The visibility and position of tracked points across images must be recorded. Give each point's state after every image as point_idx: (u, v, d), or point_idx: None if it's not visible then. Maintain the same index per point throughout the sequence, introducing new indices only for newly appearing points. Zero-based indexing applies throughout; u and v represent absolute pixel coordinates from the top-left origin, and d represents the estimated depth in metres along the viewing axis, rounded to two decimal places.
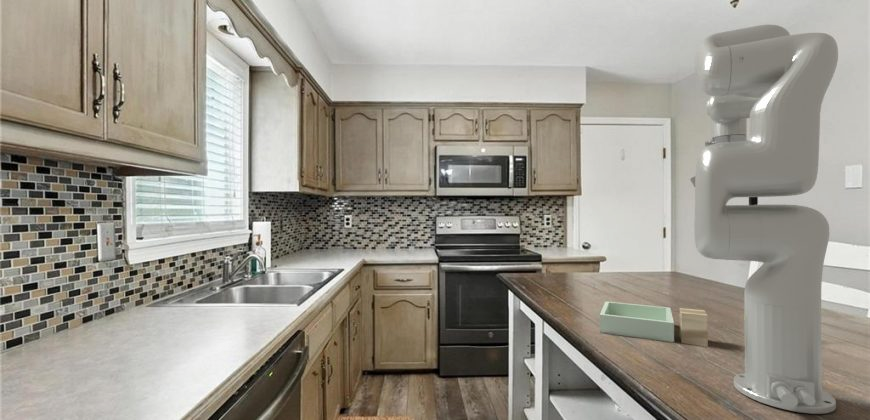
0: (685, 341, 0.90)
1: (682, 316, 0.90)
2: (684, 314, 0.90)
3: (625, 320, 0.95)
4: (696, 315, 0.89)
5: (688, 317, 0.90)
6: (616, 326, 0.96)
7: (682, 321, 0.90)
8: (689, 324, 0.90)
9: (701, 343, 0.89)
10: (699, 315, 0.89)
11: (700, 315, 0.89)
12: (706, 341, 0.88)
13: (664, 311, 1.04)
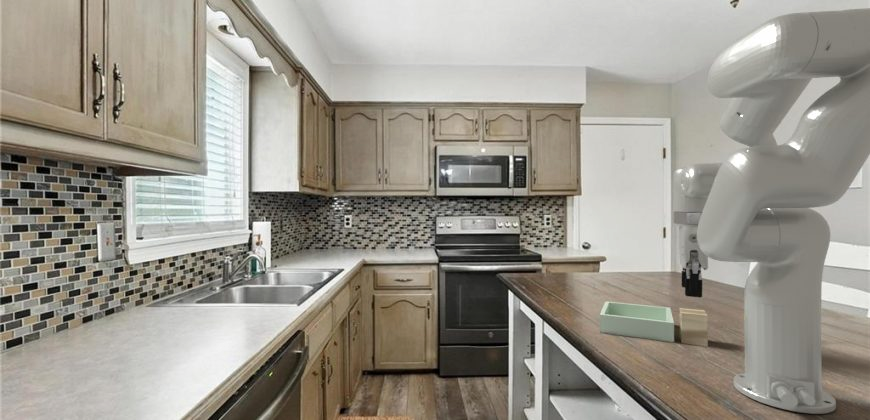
0: (685, 341, 0.90)
1: (682, 316, 0.90)
2: (684, 314, 0.90)
3: (625, 320, 0.95)
4: (696, 315, 0.89)
5: (688, 317, 0.90)
6: (616, 326, 0.96)
7: (682, 321, 0.90)
8: (689, 324, 0.90)
9: (701, 343, 0.89)
10: (699, 315, 0.89)
11: (700, 315, 0.89)
12: (706, 341, 0.88)
13: (664, 311, 1.04)
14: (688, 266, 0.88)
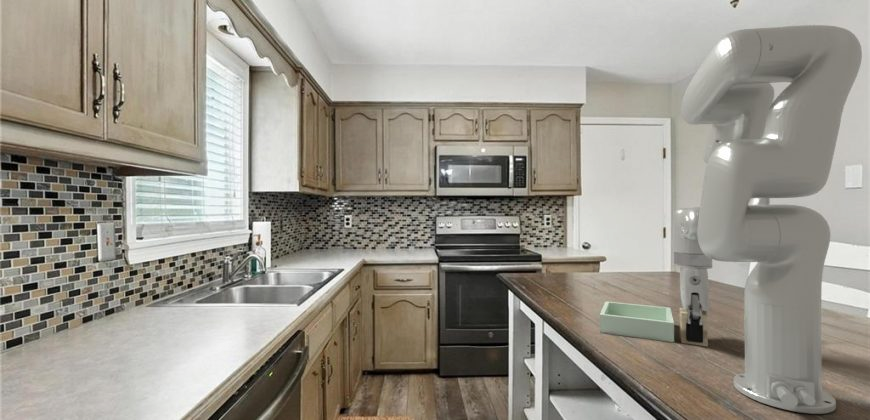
0: (685, 341, 0.90)
1: (682, 316, 0.90)
2: (684, 314, 0.90)
3: (625, 320, 0.95)
4: None
5: None
6: (616, 326, 0.96)
7: (682, 321, 0.90)
8: None
9: (701, 343, 0.89)
10: None
11: None
12: (706, 341, 0.88)
13: (664, 311, 1.04)
14: (689, 311, 0.89)
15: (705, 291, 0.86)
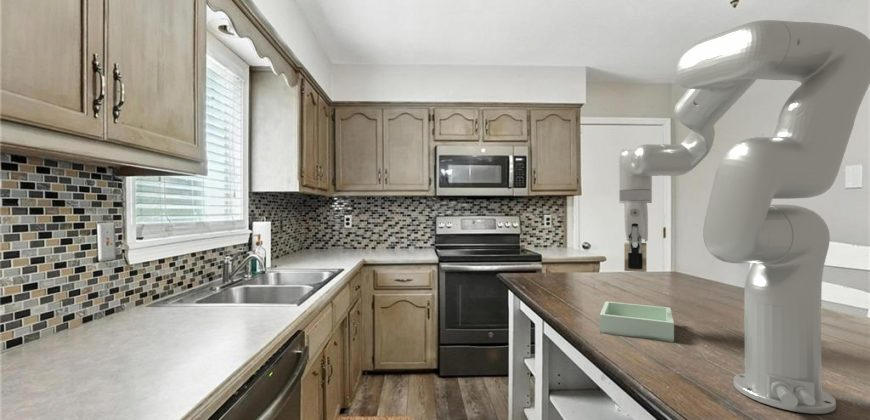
0: (627, 269, 1.00)
1: (625, 246, 1.00)
2: (627, 245, 1.00)
3: (625, 320, 0.95)
4: None
5: None
6: (616, 326, 0.96)
7: (625, 251, 1.00)
8: None
9: (641, 270, 0.99)
10: None
11: None
12: (645, 267, 0.98)
13: (664, 311, 1.04)
14: (630, 241, 0.99)
15: (643, 222, 0.96)
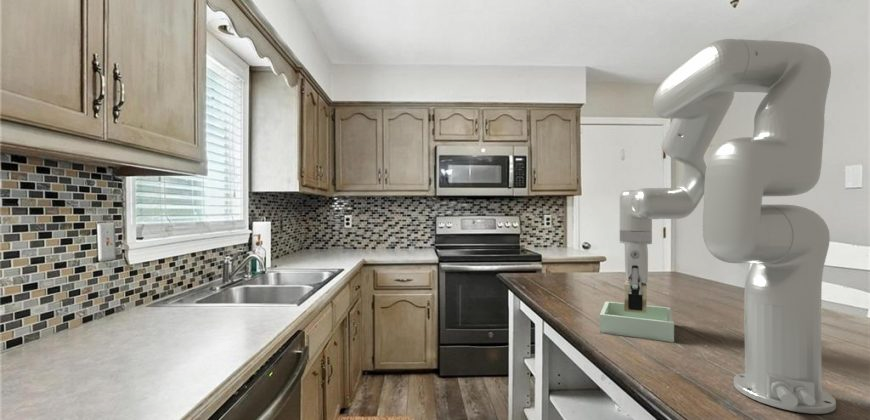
0: (627, 309, 1.00)
1: (625, 287, 1.00)
2: (627, 285, 1.00)
3: (625, 320, 0.95)
4: None
5: None
6: (616, 326, 0.96)
7: (625, 291, 1.00)
8: None
9: (641, 311, 0.99)
10: None
11: None
12: (645, 309, 0.98)
13: (664, 311, 1.04)
14: (630, 282, 0.99)
15: (643, 264, 0.96)
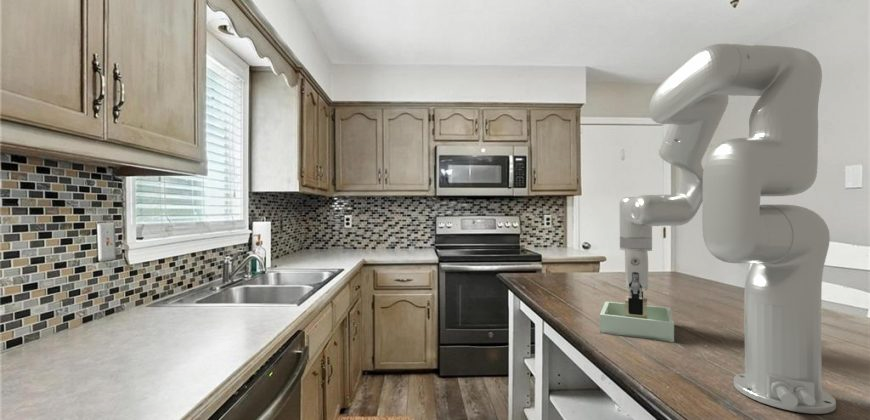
0: None
1: (626, 303, 1.00)
2: (627, 301, 1.00)
3: (625, 320, 0.95)
4: None
5: None
6: (616, 326, 0.96)
7: (625, 307, 1.00)
8: None
9: None
10: None
11: None
12: None
13: (664, 311, 1.04)
14: (631, 286, 0.98)
15: (644, 271, 0.96)
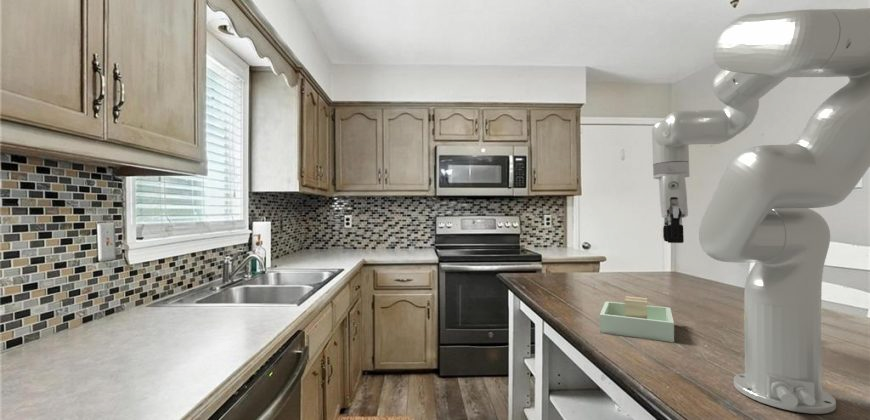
0: None
1: (626, 303, 1.00)
2: (627, 301, 1.00)
3: (625, 320, 0.95)
4: (637, 302, 0.99)
5: (630, 304, 1.00)
6: (616, 326, 0.96)
7: (625, 307, 1.00)
8: (631, 310, 1.00)
9: None
10: (640, 302, 0.99)
11: (641, 302, 0.99)
12: None
13: (664, 311, 1.04)
14: (669, 213, 0.91)
15: (683, 195, 0.89)
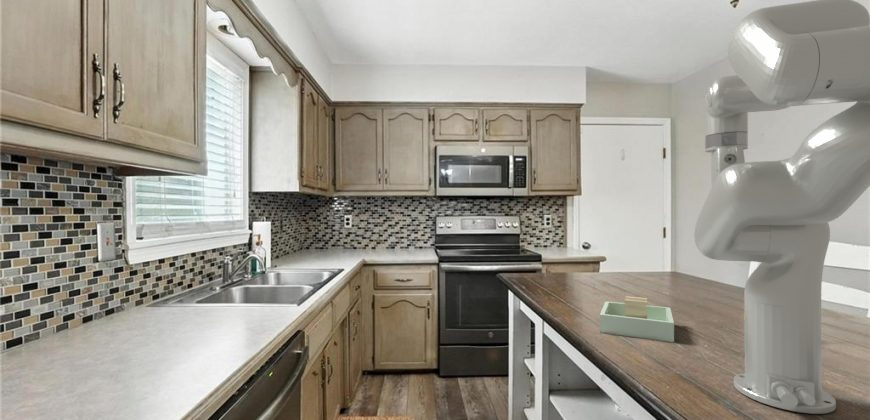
0: None
1: (626, 303, 1.00)
2: (627, 301, 1.00)
3: (625, 320, 0.95)
4: (637, 302, 0.99)
5: (630, 304, 1.00)
6: (616, 326, 0.96)
7: (625, 307, 1.00)
8: (631, 310, 1.00)
9: None
10: (640, 302, 0.99)
11: (641, 302, 0.99)
12: None
13: (664, 311, 1.04)
14: None
15: None
